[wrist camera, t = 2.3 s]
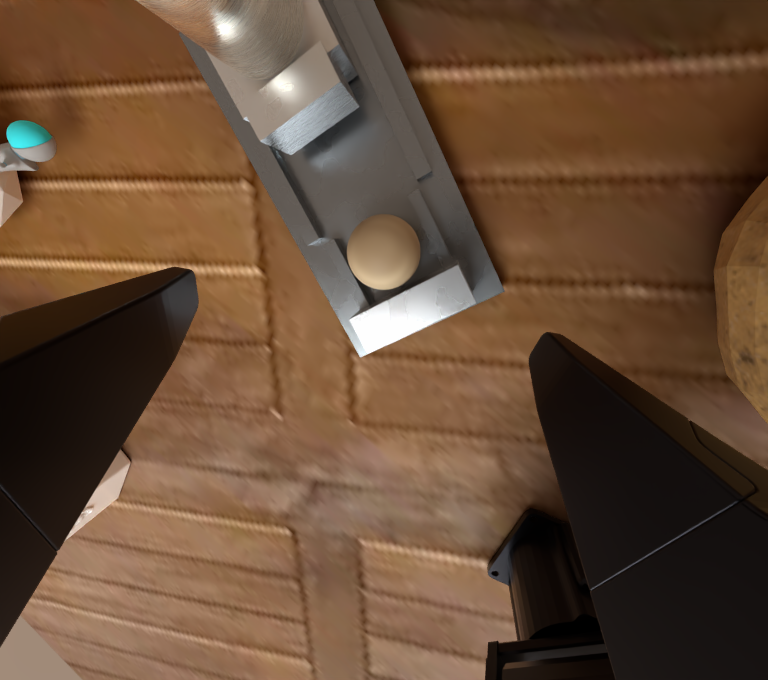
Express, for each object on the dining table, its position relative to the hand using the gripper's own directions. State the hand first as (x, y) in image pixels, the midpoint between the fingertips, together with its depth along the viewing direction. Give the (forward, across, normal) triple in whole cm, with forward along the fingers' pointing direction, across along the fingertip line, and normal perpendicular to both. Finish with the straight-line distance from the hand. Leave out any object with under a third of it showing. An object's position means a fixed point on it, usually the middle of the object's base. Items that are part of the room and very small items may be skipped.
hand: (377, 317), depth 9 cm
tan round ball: (+10, -1, +3) cm, 11 cm away
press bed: (+13, +2, 0) cm, 13 cm away
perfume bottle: (+17, +22, +5) cm, 29 cm away
